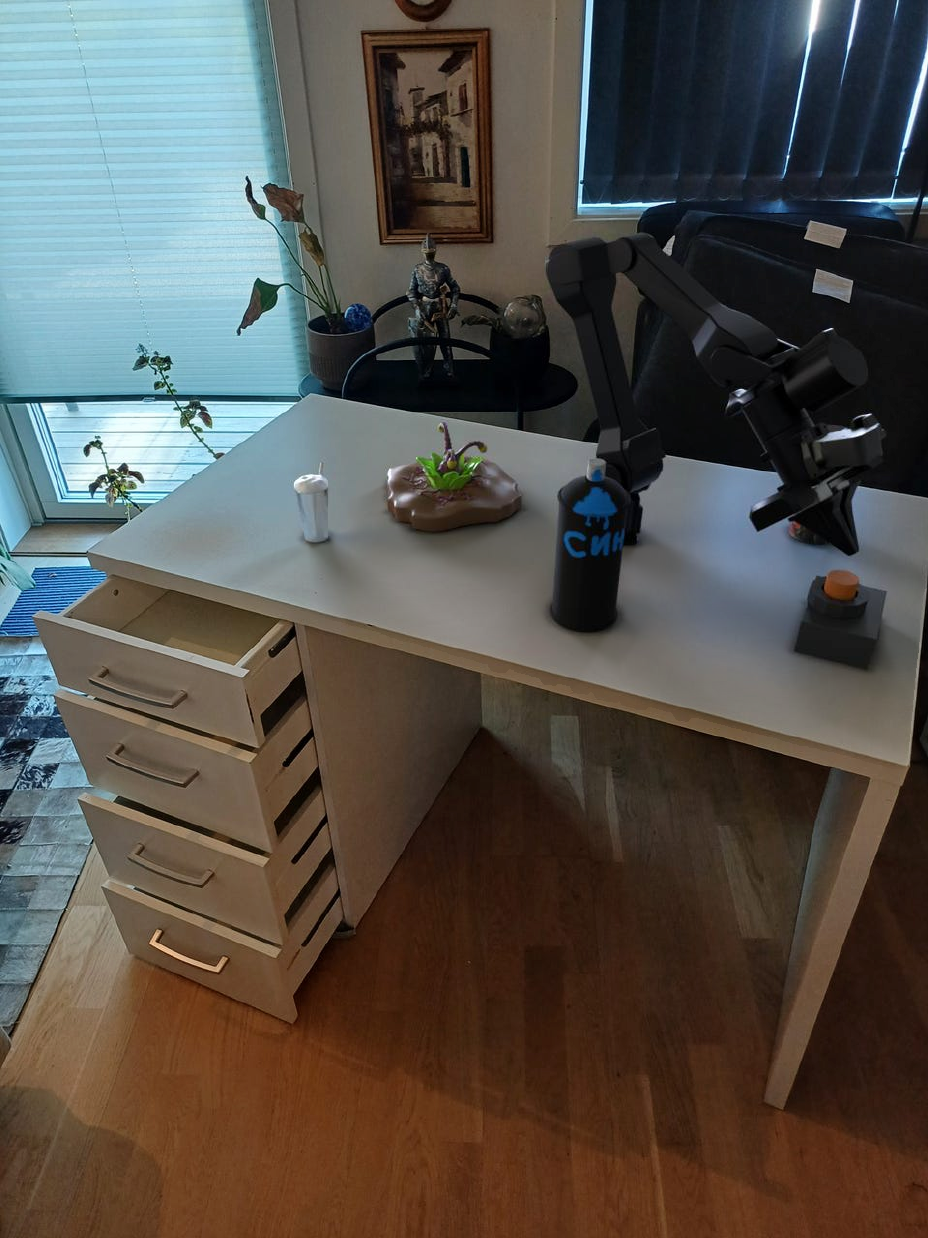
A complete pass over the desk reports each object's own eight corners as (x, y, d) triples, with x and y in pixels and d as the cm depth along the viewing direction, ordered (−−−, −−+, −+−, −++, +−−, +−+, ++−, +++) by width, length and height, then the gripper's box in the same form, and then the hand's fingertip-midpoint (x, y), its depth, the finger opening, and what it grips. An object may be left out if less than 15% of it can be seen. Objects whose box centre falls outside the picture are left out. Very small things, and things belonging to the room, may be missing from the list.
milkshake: (342, 530, 127) (336, 465, 121) (321, 548, 123) (315, 481, 117) (314, 524, 128) (308, 459, 123) (293, 541, 124) (285, 474, 119)
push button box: (867, 670, 100) (881, 626, 97) (792, 650, 103) (803, 607, 100) (877, 620, 108) (891, 577, 105) (807, 603, 111) (818, 561, 108)
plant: (491, 462, 145) (492, 395, 139) (536, 517, 130) (539, 444, 124) (370, 479, 140) (365, 410, 134) (402, 538, 125) (398, 463, 119)
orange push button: (852, 604, 101) (857, 588, 100) (821, 596, 102) (825, 580, 101) (856, 589, 104) (861, 573, 103) (825, 582, 105) (829, 566, 104)
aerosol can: (544, 596, 113) (553, 447, 101) (609, 593, 113) (625, 445, 102) (555, 634, 106) (566, 479, 95) (624, 631, 107) (643, 476, 95)
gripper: (797, 418, 88) (876, 557, 88) (887, 374, 99) (958, 499, 98) (717, 467, 98) (787, 593, 97) (807, 422, 108) (871, 536, 108)
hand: (854, 553), depth 100 cm, fingers closed
